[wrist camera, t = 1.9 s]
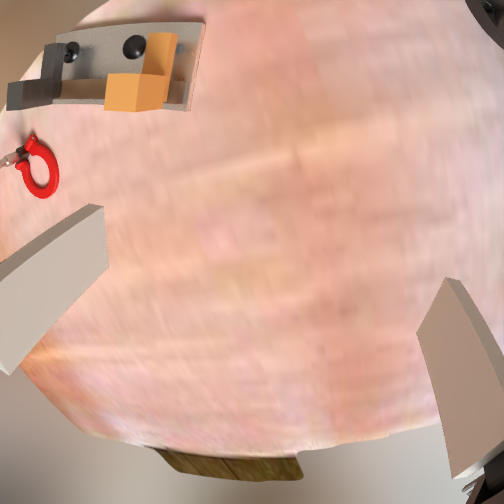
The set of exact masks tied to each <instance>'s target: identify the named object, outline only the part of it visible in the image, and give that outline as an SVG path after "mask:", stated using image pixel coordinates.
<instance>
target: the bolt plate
mask: <svg viewBox="0 0 504 504" xmlns="http://www.w3.org/2000/svg"><path fill="white" fill-rule="evenodd" d="M205 28H206V25H205V24H204V23H200V22H153V23H135V24H122V25H113V26H104V27H96V28H89V29H83V30H77V31H72V32H66V33H62V34H57V35H56V41H55V43H67V44H66V48H70V49H71V53H70V55H69V56H68V57H64V63H63V71H62V79H61V89H60V98H56V99H53V104H100V105H104V102H105V93H106V85H107V77H108V74H115V73H130V74H142V68H143V62H144V56H145V51H146V45H147V40H148V35H149V33H174V34H176V35H178V39H177V44H178V48H177V49H176V50H175V55H174V60H173V66H172V71H171V77H170V83H169V90H168V96H167V102H163V108H162V109H169V110H177V111H185V112H187V111H190V109H191V103H192V96H193V90H194V85H195V79H196V73H197V68H198V63H199V57H200V52H201V47H202V42H203V38H204V33H205Z"/></svg>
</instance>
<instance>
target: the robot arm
mask: <svg viewBox="0 0 504 504" xmlns="http://www.w3.org/2000/svg"><path fill="white" fill-rule="evenodd" d="M466 3H467V5H468V6H469V8H470V10H471V12H472V13H473V15H474V17H475V18H476V20H477V21H478V23H479V24H480V25H481V27H482V28H483V29H484V30H485V32H486V33H487V34H488V35H489V36H490V37H491V38H492V39H493V40H494V41H495V42H496V43H497V44H498V45H499V46H500V47H502V48H503V49H504V0H466ZM108 267H109V262H108V252H107V242H106V231H105V217H104V206H99V205H94V204H88V205H86V206H84V207H83V208H81V209H79V210H78V211H76V212H75V213H73V214H71V215H70V216H68V217H67V218H65V219H63V220H62V221H60V222H59V223H57V224H56V225H54V226H53V227H51V228H50V229H48V230H47V231H45V232H44V233H42V234H41V235H39V236H38V237H36V238H35V239H33V240H32V241H31V242H29V243H28V244H26V245H25V246H24V247H22V248H21V249H19V250H18V251H17V252H15V253H14V254H13V255H11V256H10V257H9V258H7V259H5V260H4V261H3V262H1V263H0V369H1V370H2V371H3V372H5V373H6V374H8V375H9V376H10V375H11V374H12V372H13V371H14V370H15V369H16V367H17V366H18V365H19V364H20V363H21V361H22V360H23V359H24V358H25V357H26V355H27V354H28V353H29V352H30V351H31V350H32V348H33V347H34V346H35V345H36V344H37V343H38V341H39V340H40V339H41V338H42V337H43V336H44V335H45V333H46V332H47V331H48V330H49V329H50V328H51V327H52V326H53V325H54V323H55V322H56V321H57V320H58V319H59V318H60V317H61V316H62V315H63V314H64V313H65V311H66V310H67V309H68V308H69V307H70V306H71V305H72V304H73V303H74V302H75V301H76V300H77V299H78V298H79V297H80V296H81V295H82V294H83V293H84V292H85V290H86V289H87V288H88V287H89V286H90V285H91V284H92V283H93V282H94V281H95V280H96V279H97V278H98V277H99V276H100V275H101V274H102V273H103V272H104V271H105V270H106V269H107V268H108ZM416 334H417V337H418V340H419V343H420V346H421V349H422V352H423V355H424V358H425V362H426V365H427V368H428V372H429V375H430V379H431V383H432V386H433V390H434V394H435V398H436V401H437V405H438V410H439V414H440V418H441V422H442V427H443V432H444V436H445V441H446V447H447V452H448V458H449V463H450V469H451V476H452V479H457V478H462V477H467V476H471V475H472V474H474V473H475V472H476V471H478V470H479V469H481V468H482V467H484V472H485V473H484V474H483V475H481V476H480V477H478V478H477V479H475V480H474V481H472V482H471V483H469V484H468V485H466V486H465V487H464V488H463V489H462V492H465V491H466V490H468V489H470V488H471V487H473V486H474V488H473V490H471V491H470V492H469V493H468V494H467V495H468V496H469V499H468V500H467V502H466V504H504V356H503V354H502V352H501V350H500V348H499V346H498V344H497V342H496V340H495V338H494V337H493V335H492V333H491V331H490V329H489V327H488V326H487V324H486V322H485V320H484V319H483V317H482V315H481V313H480V312H479V310H478V308H477V307H476V305H475V303H474V302H473V300H472V299H471V297H470V295H469V294H468V292H467V291H466V289H465V287H464V286H463V284H462V283H461V281H459V280H455V279H451V278H446V277H445V279H444V281H443V283H442V285H441V287H440V289H439V291H438V293H437V295H436V297H435V299H434V301H433V303H432V305H431V307H430V309H429V311H428V313H427V314H426V316H425V318H424V320H423V322H422V324H421V325H420V327H419V329H418V331H417V332H416Z"/></svg>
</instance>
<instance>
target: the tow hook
mask: <svg viewBox="0 0 504 504" xmlns="http://www.w3.org/2000/svg"><path fill="white" fill-rule="evenodd" d="M36 140H37V137H36V136H35V135H30V136H29V138H28V140H27V142H26V144H25V145H24V146H22V147H19V148H17V149H16V152H13V153H11V154H8V155H6V156H4V158H3V159H1V160H0V168H2V167H4V166H6V167H8V166H10V165H12V164H14V163H16V164H15V168H16V169H17V170H20V171H21V172H22V176H23V180H24V183H25V184H26V186H27V188H28V190H29V191H30V192H31V193H32V194H33V195H34V196H35V197H38V198H41V199H45V198H48V197H50V196H51V195H52V194H54V193H55V191H56V189H57V187H58V183H59V169H58V165H57V162H56V159H55V157H54V155H53V154H52V153H51V151H50V150H49V149H48V148H46V147H45V146H43V145H40V144H38V142H37V141H36ZM30 154H31V155H32V156H34V155H38V156H40V157H42V158H43V159H44V160H45V162H46V163H47V165H48V168H49V173H50V180H49V184H48V185H47V187H46V188H40V187H38V186H37V185H36V184H35V183H34V182H33V180H32V178H31V175H30V165H29V163H28V162H27V161H26V160H27V158H28V157H29V155H30Z"/></svg>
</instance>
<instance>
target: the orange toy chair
mask: <svg viewBox="0 0 504 504" xmlns="http://www.w3.org/2000/svg"><path fill="white" fill-rule="evenodd" d="M177 39H178V35H176V34H174V33H149V35H148V40H147V45H146V51H145V56H144V62H143V68H142V74H130V73H115V74H108V77H107V85H106V93H105V102H104V110H109V111H125V112H141V111H148V110H156V109H162V108H163V102H167V96H168V90H169V83H170V77H171V71H172V66H173V60H174V55H175V50H176V49H177V48H178V44H177Z"/></svg>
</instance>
